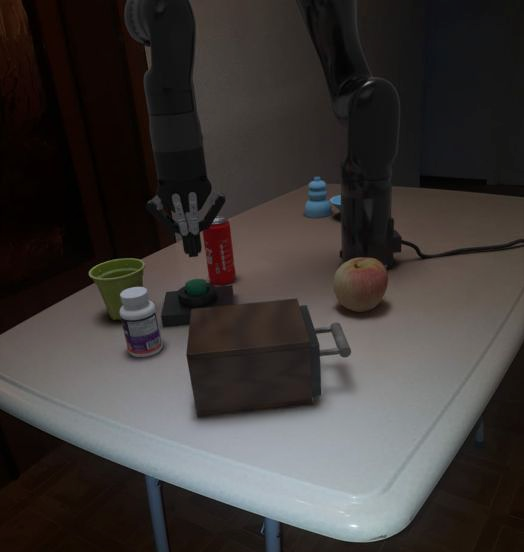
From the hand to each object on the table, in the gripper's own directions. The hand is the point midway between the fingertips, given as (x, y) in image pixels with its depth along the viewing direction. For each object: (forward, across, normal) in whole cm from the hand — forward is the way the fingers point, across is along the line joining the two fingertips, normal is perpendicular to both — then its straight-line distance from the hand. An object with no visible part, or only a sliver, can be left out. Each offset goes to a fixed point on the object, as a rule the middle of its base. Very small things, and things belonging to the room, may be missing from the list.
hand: (194, 255), depth 91 cm
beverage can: (+10, +4, +14) cm, 18 cm away
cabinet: (+10, +8, -24) cm, 28 cm away
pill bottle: (+11, -8, -11) cm, 18 cm away
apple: (+10, +27, -4) cm, 29 cm away
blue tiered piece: (+10, +33, +48) cm, 59 cm away
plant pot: (+11, -13, +3) cm, 17 cm away
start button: (+7, 0, +1) cm, 7 cm away
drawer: (+9, +11, -24) cm, 29 cm away
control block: (+10, 0, +1) cm, 10 cm away
